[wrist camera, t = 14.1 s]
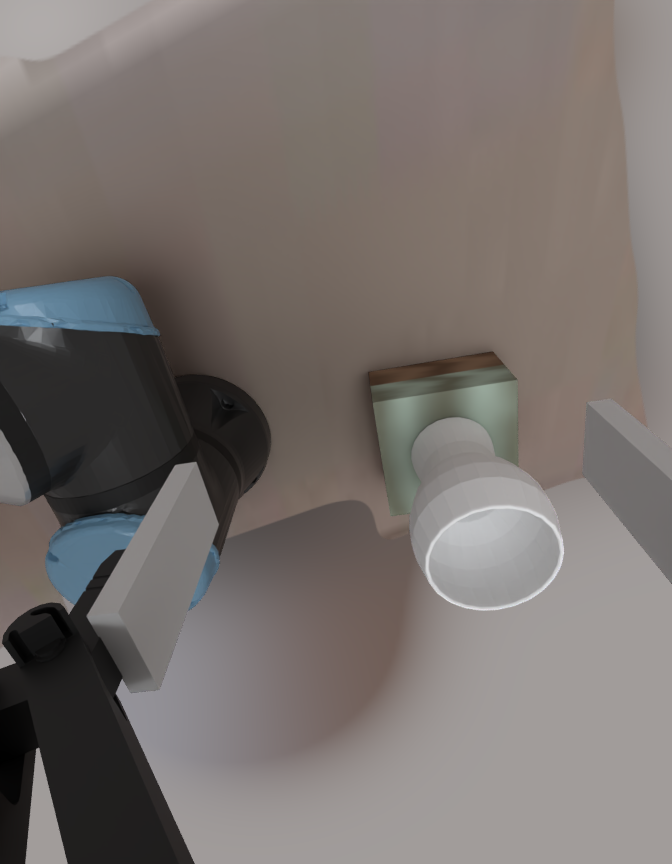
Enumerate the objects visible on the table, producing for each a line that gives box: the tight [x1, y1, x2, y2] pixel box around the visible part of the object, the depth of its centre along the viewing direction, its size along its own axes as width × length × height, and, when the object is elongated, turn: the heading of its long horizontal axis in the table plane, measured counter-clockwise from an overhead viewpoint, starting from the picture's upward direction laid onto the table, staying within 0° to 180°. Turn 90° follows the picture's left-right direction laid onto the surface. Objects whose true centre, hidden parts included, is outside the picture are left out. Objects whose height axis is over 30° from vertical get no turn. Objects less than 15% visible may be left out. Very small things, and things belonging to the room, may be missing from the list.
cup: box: [409, 417, 564, 610], centre depth 40 cm, size 11×11×15 cm
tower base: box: [369, 352, 518, 516], centre depth 51 cm, size 13×13×8 cm
